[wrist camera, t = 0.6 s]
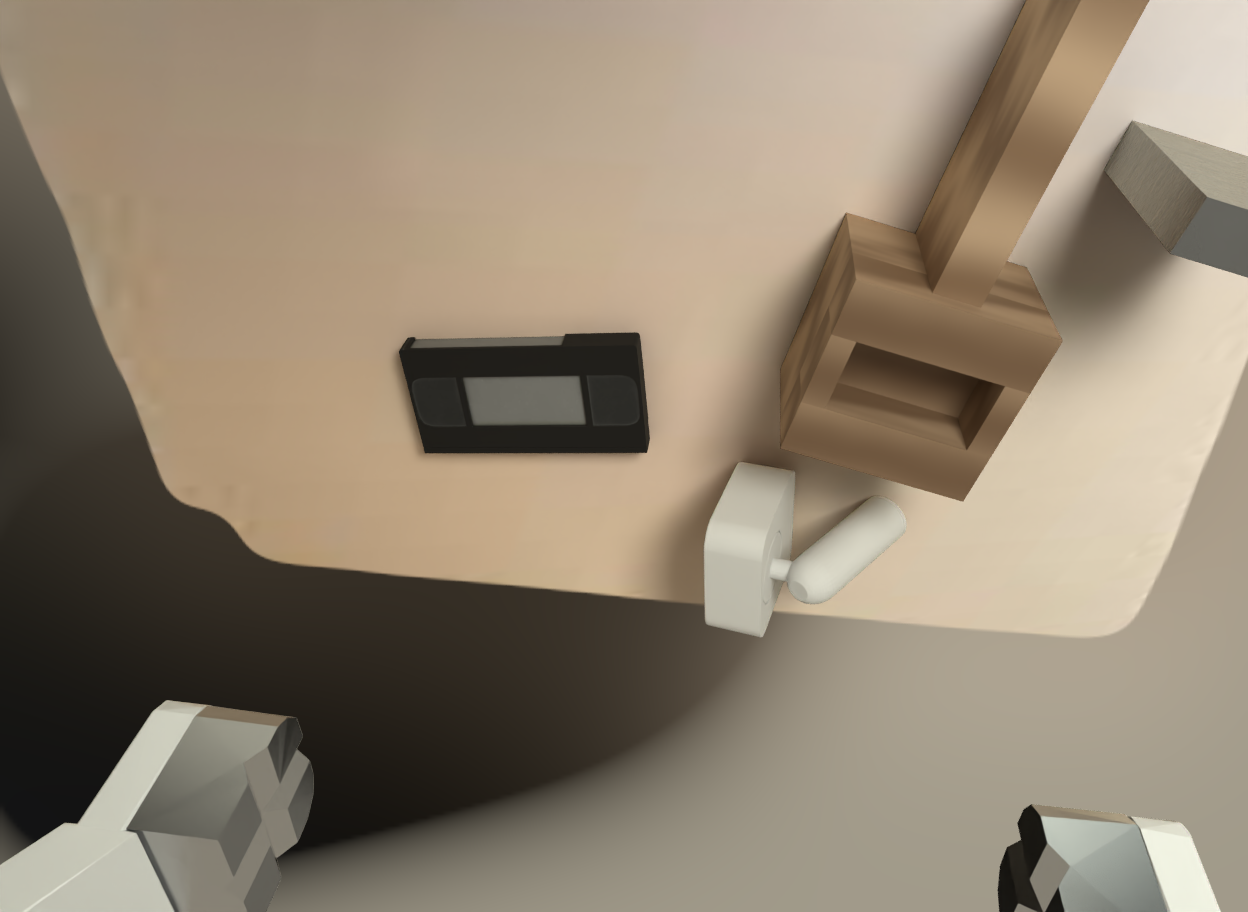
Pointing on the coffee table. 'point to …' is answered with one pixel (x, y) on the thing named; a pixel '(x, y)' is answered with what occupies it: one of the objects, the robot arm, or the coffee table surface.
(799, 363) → the slotted wooden socket block
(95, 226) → the coffee table surface
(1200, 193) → the grey wood block
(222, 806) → the robot arm
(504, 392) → the vhs tape
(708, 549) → the wall hook
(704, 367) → the coffee table surface
